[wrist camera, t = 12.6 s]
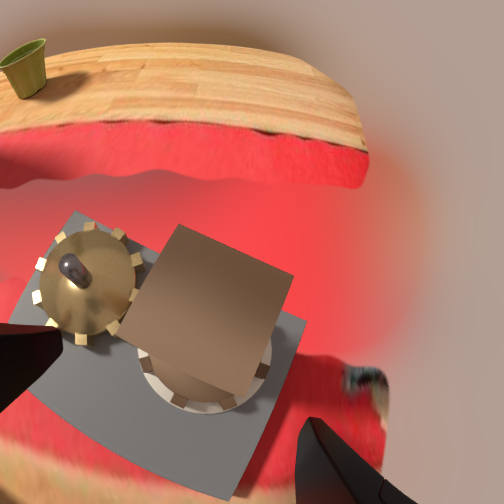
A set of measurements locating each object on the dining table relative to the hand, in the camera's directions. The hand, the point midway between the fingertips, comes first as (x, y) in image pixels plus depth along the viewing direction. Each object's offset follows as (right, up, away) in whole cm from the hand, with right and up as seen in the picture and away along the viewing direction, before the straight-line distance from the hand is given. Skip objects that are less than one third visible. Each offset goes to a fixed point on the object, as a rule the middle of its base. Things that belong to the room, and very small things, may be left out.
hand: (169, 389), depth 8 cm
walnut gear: (-1, -3, +12) cm, 12 cm away
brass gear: (-10, +2, +12) cm, 16 cm away
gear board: (-7, -4, +12) cm, 14 cm away
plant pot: (-36, +33, +25) cm, 55 cm away
